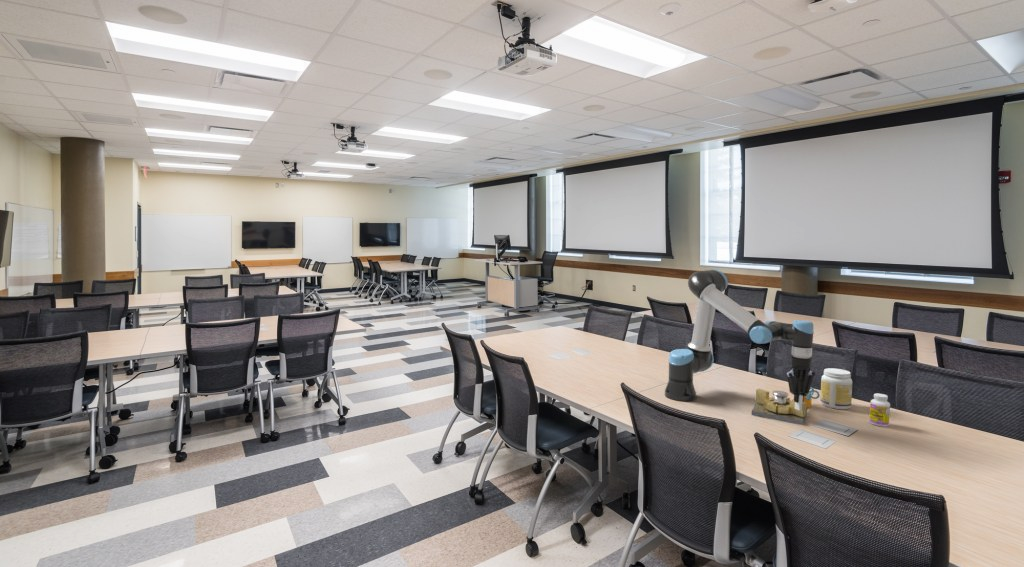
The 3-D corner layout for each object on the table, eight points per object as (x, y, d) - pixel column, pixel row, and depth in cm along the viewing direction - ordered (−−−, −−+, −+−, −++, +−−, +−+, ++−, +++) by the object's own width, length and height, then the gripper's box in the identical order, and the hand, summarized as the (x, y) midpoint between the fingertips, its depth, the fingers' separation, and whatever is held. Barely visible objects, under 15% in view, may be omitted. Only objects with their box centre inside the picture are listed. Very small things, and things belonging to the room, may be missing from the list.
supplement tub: (852, 405, 222) (855, 370, 221) (848, 412, 214) (851, 376, 212) (822, 399, 231) (824, 366, 229) (817, 406, 222) (819, 371, 220)
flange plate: (751, 414, 211) (752, 394, 211) (758, 403, 226) (759, 383, 225) (803, 425, 199) (804, 403, 199) (807, 412, 214) (808, 391, 213)
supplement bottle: (865, 422, 202) (867, 393, 200) (874, 420, 204) (876, 391, 203) (882, 428, 195) (884, 398, 194) (892, 425, 198) (894, 396, 197)
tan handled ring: (748, 403, 219) (749, 391, 219) (765, 399, 225) (765, 387, 224) (795, 419, 200) (796, 405, 199) (812, 414, 206) (813, 400, 205)
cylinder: (821, 411, 215) (823, 379, 214) (796, 409, 217) (798, 378, 216) (810, 402, 227) (812, 372, 226) (787, 400, 229) (788, 371, 228)
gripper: (794, 359, 196) (791, 413, 198) (821, 357, 198) (818, 411, 200) (781, 354, 204) (778, 407, 206) (807, 353, 206) (804, 405, 208)
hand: (798, 409), depth 203 cm, fingers closed
